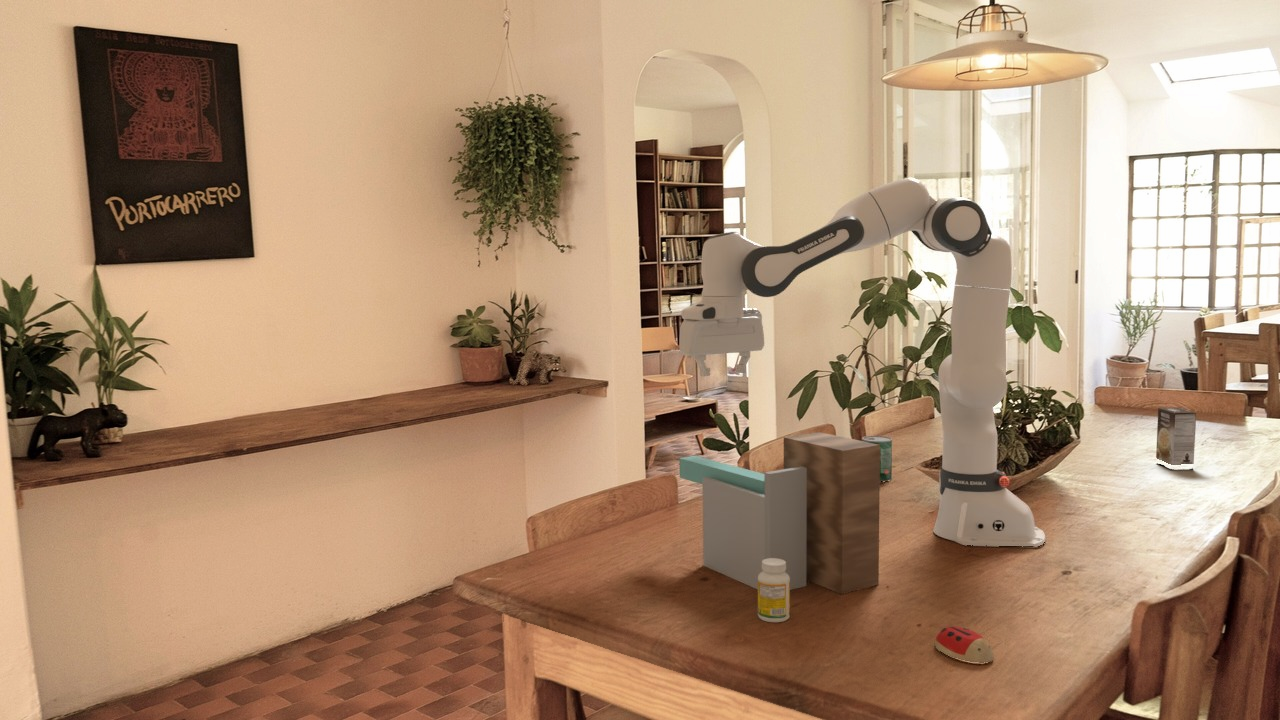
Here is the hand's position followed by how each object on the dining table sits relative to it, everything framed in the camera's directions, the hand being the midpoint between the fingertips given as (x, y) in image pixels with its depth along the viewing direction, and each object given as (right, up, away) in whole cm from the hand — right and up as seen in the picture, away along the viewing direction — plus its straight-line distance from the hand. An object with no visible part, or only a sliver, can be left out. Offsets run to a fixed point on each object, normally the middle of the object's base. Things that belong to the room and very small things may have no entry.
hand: (723, 374), depth 211 cm
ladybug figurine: (+31, -42, -61) cm, 80 cm away
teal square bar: (-1, -22, -19) cm, 29 cm away
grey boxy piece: (+4, -38, -23) cm, 45 cm away
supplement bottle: (+5, -40, -45) cm, 61 cm away
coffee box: (+130, -27, +63) cm, 147 cm away
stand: (+18, -38, -25) cm, 49 cm away
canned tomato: (+46, -29, +54) cm, 77 cm away
